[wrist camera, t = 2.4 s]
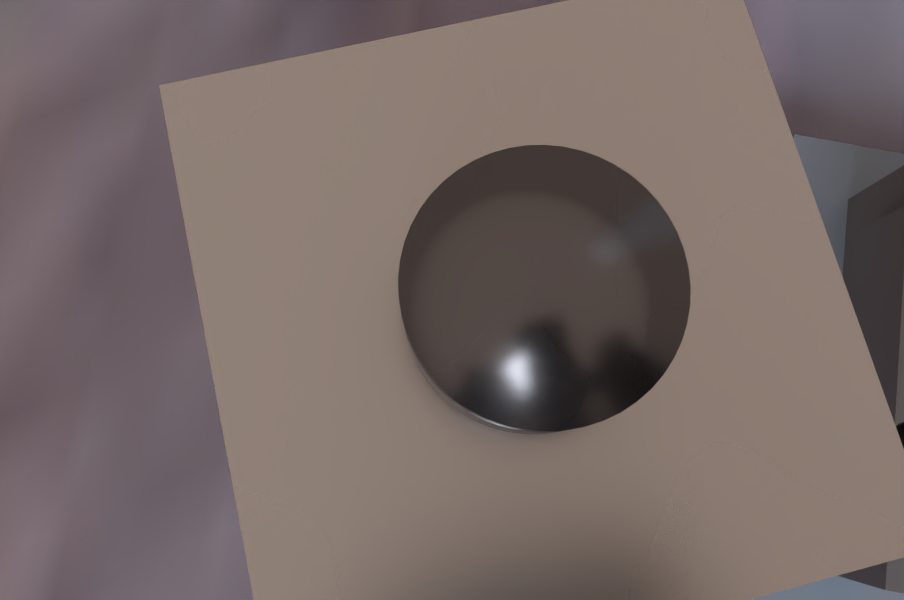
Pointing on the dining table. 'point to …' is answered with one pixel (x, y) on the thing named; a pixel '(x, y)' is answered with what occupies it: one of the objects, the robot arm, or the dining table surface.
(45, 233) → the dining table surface
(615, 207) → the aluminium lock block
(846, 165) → the coupler cradle
